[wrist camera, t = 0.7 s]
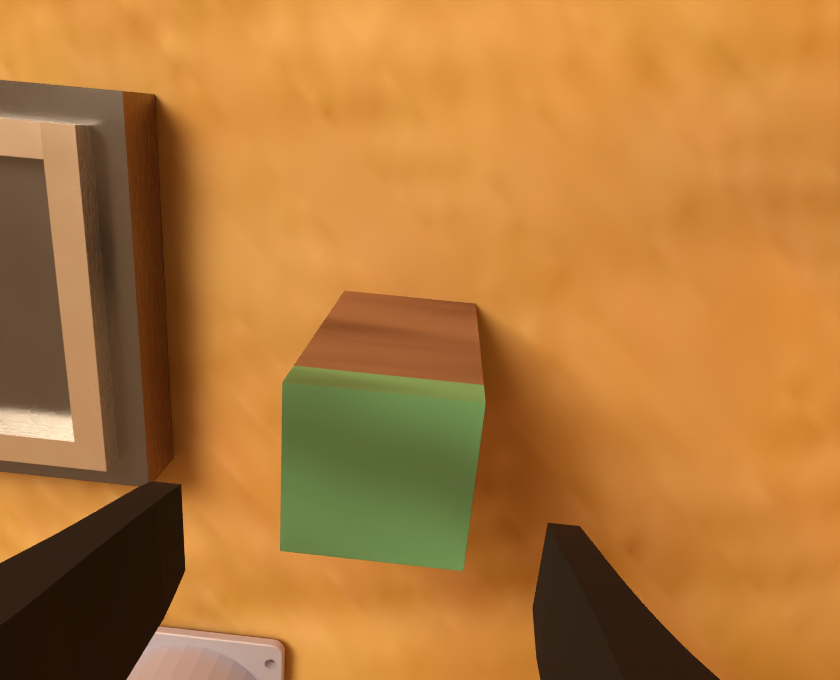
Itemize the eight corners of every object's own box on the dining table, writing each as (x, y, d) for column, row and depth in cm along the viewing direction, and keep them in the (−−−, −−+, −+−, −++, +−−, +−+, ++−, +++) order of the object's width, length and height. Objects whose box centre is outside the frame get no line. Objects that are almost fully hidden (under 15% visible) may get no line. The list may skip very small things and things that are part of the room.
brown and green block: (461, 422, 23) (463, 571, 15) (338, 409, 23) (280, 551, 15) (475, 303, 21) (485, 402, 14) (344, 290, 21) (282, 382, 14)
